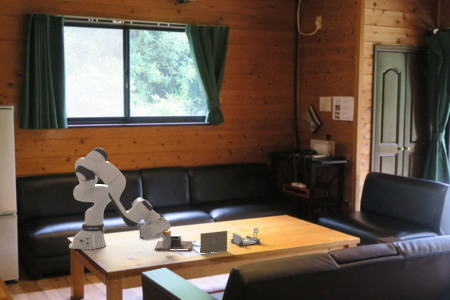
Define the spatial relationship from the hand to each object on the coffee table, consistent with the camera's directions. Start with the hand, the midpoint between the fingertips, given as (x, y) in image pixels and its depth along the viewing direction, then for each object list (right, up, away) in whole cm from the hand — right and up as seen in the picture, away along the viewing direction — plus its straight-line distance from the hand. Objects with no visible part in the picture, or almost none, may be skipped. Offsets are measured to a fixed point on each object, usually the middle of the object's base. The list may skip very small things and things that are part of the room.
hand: (167, 237), depth 364 cm
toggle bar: (-1, -6, +1) cm, 6 cm away
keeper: (+2, -8, +17) cm, 19 cm away
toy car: (+49, -8, +29) cm, 57 cm away
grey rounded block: (-15, -6, +45) cm, 48 cm away
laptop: (+25, -10, +10) cm, 28 cm away
